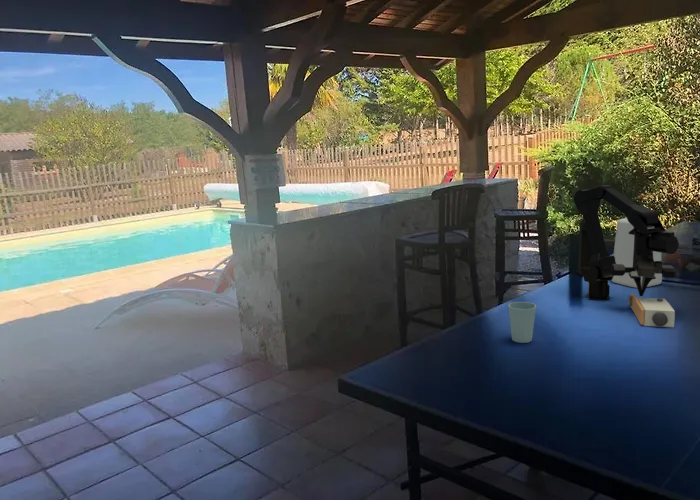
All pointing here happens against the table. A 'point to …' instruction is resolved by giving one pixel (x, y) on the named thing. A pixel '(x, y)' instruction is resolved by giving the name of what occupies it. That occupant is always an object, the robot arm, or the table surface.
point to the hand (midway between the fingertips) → (640, 295)
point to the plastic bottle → (629, 254)
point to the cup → (522, 321)
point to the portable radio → (583, 250)
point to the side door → (636, 308)
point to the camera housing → (657, 312)
